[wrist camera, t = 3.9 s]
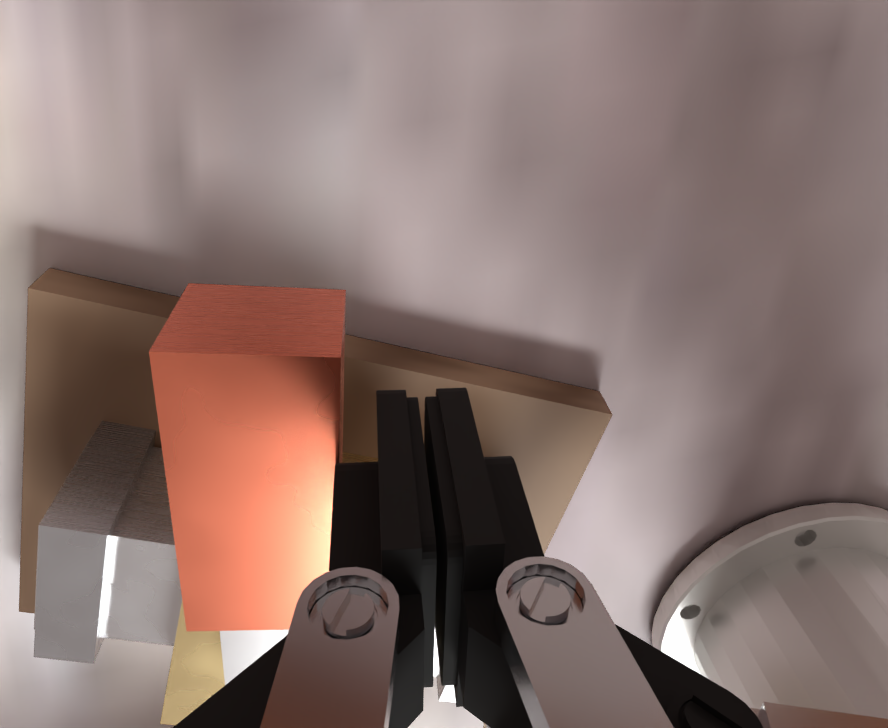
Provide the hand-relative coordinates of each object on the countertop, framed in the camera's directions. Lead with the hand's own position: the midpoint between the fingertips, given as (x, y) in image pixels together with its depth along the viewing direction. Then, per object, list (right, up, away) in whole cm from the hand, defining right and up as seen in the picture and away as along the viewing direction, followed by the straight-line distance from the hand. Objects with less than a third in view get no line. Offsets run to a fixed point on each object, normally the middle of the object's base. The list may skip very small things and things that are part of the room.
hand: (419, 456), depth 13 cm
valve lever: (-3, -3, +3) cm, 5 cm away
